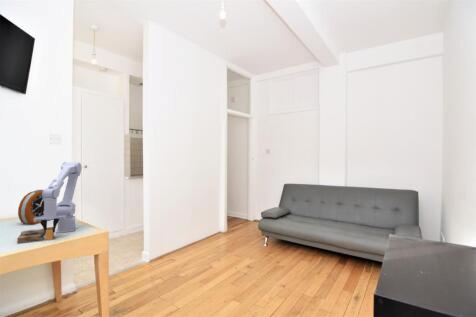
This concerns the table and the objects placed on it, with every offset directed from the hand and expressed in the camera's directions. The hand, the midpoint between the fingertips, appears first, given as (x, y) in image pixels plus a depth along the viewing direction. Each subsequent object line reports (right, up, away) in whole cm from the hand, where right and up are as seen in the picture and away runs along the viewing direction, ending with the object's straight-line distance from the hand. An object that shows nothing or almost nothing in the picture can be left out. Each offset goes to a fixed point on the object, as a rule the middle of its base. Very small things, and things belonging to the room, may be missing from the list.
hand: (49, 232), depth 139 cm
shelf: (-10, -3, -1) cm, 10 cm away
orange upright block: (0, -3, 0) cm, 3 cm away
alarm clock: (-34, -2, +33) cm, 47 cm away
